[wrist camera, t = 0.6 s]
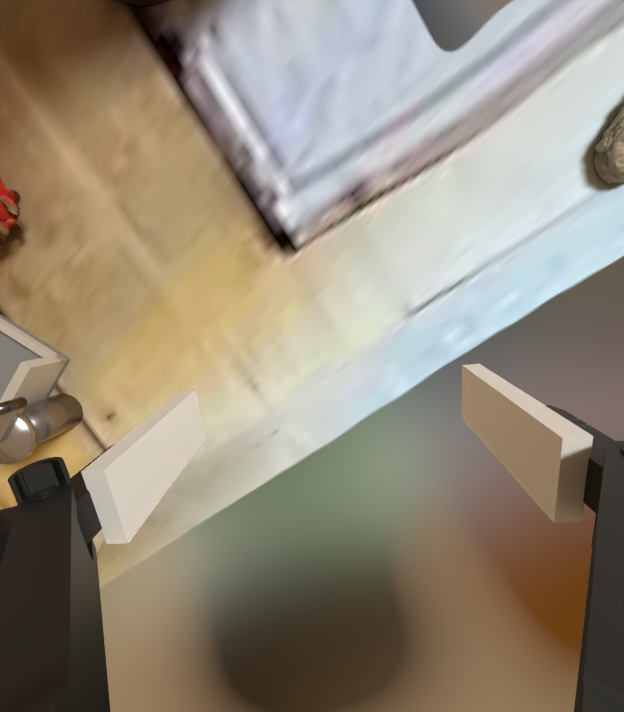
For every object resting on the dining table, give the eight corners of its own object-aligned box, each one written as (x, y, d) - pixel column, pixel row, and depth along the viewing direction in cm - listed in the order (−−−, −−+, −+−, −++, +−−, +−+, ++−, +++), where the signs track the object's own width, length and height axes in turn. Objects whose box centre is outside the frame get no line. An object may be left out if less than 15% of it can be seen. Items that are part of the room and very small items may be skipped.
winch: (34, 416, 44) (-69, 456, 32) (63, 365, 43) (-33, 388, 31) (74, 441, 44) (-13, 489, 33) (104, 392, 43) (25, 424, 31)
